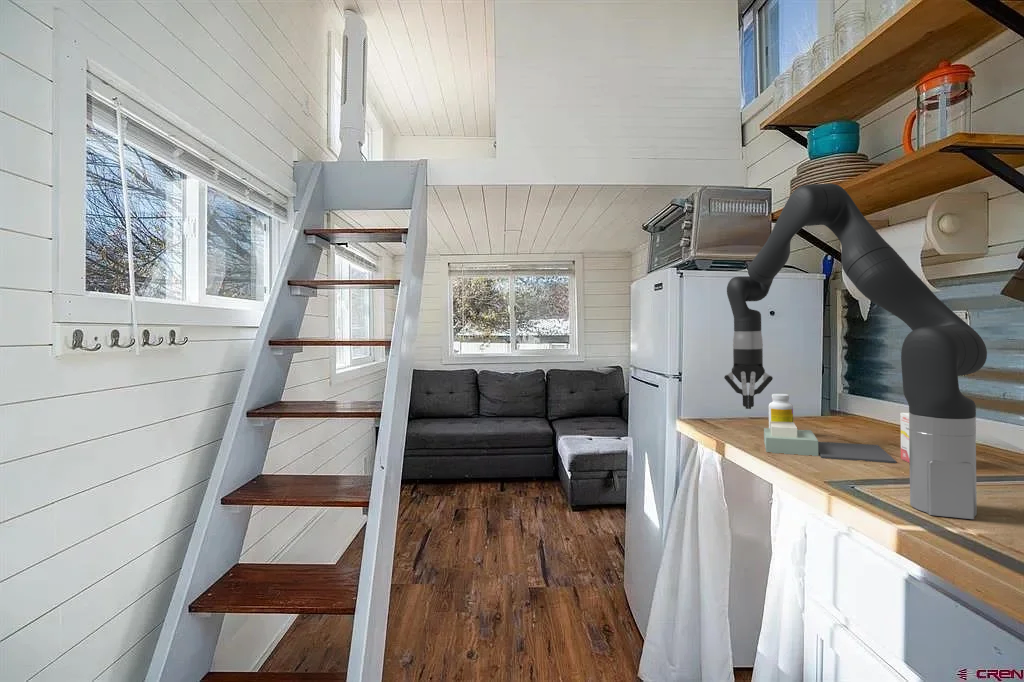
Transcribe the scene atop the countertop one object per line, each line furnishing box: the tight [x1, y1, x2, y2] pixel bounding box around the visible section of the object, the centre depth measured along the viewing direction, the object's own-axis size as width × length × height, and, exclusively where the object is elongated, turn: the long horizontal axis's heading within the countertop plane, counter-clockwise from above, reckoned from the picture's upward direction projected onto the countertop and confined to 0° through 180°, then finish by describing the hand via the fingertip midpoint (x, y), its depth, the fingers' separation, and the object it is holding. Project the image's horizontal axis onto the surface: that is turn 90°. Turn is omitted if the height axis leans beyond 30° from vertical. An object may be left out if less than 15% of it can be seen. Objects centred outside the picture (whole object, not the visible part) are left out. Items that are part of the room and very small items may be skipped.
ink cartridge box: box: [899, 412, 910, 464], centre depth 121 cm, size 9×5×15 cm, turn 168°
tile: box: [770, 421, 798, 438], centre depth 140 cm, size 9×6×2 cm, turn 156°
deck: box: [763, 427, 819, 457], centre depth 140 cm, size 14×12×4 cm
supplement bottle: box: [768, 393, 794, 428], centre depth 155 cm, size 7×7×13 cm
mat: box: [818, 441, 897, 464], centre depth 134 cm, size 18×16×1 cm
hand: (748, 408), depth 144 cm, fingers closed
